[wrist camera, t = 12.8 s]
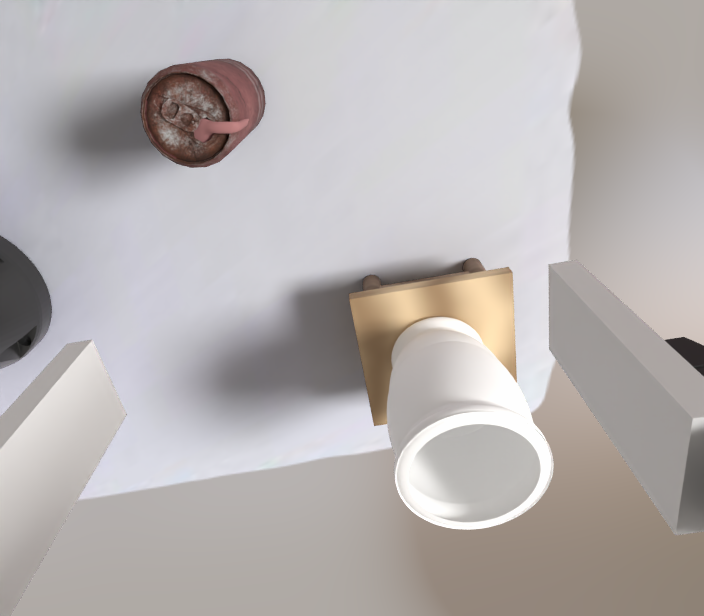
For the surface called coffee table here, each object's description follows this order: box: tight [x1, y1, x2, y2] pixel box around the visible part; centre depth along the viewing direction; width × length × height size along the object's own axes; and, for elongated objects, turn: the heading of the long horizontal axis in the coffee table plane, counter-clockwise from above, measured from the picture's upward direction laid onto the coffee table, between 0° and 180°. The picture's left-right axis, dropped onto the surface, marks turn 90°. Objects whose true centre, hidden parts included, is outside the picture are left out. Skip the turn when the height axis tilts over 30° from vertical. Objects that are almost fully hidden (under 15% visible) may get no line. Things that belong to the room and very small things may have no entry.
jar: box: [387, 317, 554, 529], centre depth 41 cm, size 11×10×15 cm
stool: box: [349, 258, 517, 426], centre depth 51 cm, size 14×14×7 cm
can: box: [140, 59, 265, 168], centre depth 38 cm, size 6×6×14 cm
